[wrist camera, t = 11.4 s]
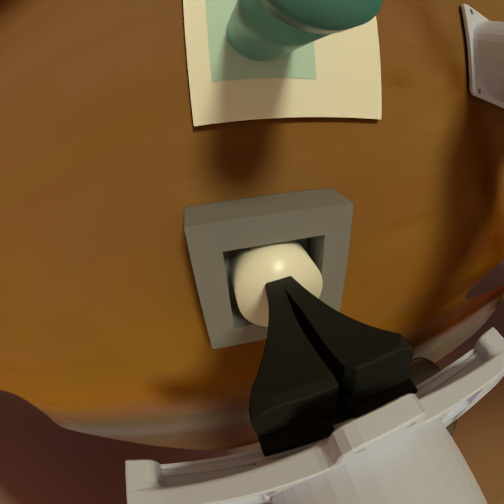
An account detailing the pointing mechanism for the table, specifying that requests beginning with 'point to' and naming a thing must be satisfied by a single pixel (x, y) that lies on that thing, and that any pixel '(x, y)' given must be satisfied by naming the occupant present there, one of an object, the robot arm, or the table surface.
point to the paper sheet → (278, 73)
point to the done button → (269, 275)
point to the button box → (262, 233)
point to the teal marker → (292, 23)
